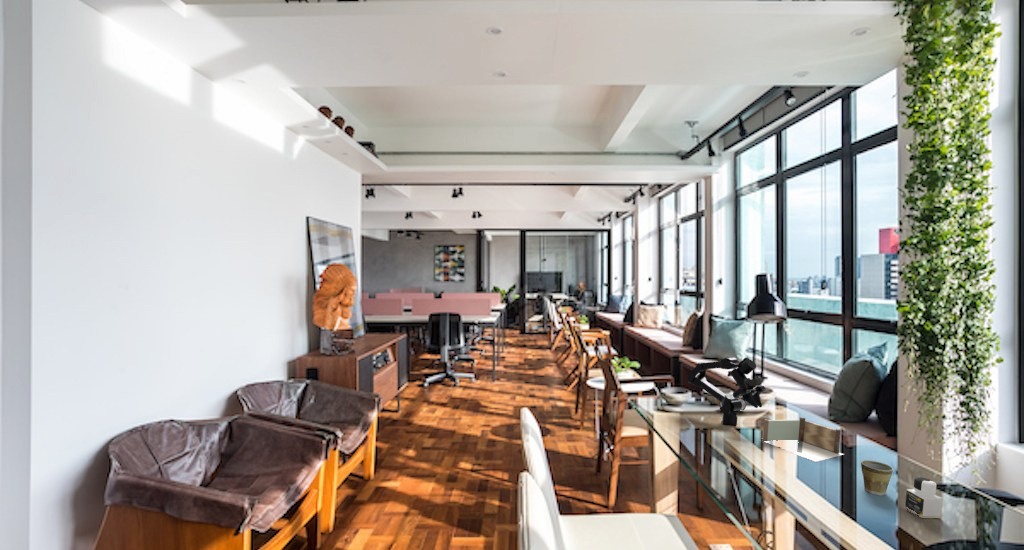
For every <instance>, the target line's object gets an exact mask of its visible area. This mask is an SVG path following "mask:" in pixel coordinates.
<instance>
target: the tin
mask: <svg viewBox="0 0 1024 550" xmlns="http://www.w3.org/2000/svg"><path fill="white" fill-rule="evenodd" d="M741 398H742V396H739V400H740V401H741V402H742V408H741V409H740V410H743V411H744V410H745V409H746V407H747V402H746V401H744V400H743V399H741ZM717 406H718V407H719V408H720V407H722V403H721V402H720V401H719V400H717Z"/></svg>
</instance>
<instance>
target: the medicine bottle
mask: <svg viewBox="0 0 1024 550" xmlns="http://www.w3.org/2000/svg"><path fill="white" fill-rule="evenodd" d="M913 479H914V480H913V488H907V489H906V493H905V494H906V495H905V506H904V508H905V507H908V508H909V509H911V510H913V511H915V512H916V513H917V514H919V515H922V516H941V517H942V510H943V509H942V508H943V497H940V496H939V495H937V483H936V481H934V480H932V479H930V478H926V477H922V476H921V477H920V476H919V477H915V478H913Z"/></svg>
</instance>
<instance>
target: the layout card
mask: <svg viewBox="0 0 1024 550" xmlns="http://www.w3.org/2000/svg"><path fill="white" fill-rule="evenodd" d="M798 442H799V443H798V449H796V450H795V452H794V453H792V454H794V455H796V456H799V457H802V458H803V459H805V458H807V459H809V460H808V461H810V460H812V461H811V462H813V461H814V462H813V463H815V462H816V463H818V462H822V461H824V460H828V459H832V458H836V457H840V456H842V455H843V456H844V455H845V453H842V452H839V454H836V453H834V452H833V451H831V450H828V449H825V448H822V447H819V446H816V445H813V444H810V443H807V442H804V441H799V440H798ZM803 447H804V448H803ZM807 459H806V460H807Z"/></svg>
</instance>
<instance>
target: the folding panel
mask: <svg viewBox="0 0 1024 550" xmlns="http://www.w3.org/2000/svg"><path fill="white" fill-rule="evenodd" d="M799 424H800V420H799V419H763V430H762V439H763V441H771V440H772V441H773V440H776V441H778V440H798V438H799Z"/></svg>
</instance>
